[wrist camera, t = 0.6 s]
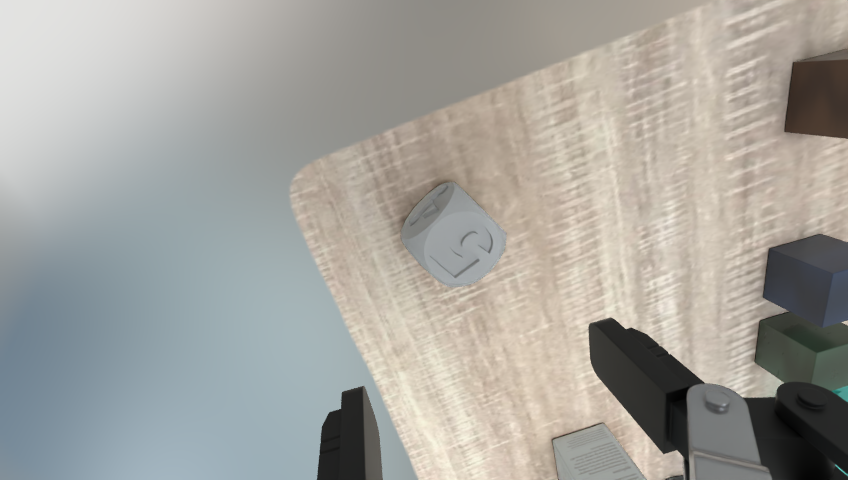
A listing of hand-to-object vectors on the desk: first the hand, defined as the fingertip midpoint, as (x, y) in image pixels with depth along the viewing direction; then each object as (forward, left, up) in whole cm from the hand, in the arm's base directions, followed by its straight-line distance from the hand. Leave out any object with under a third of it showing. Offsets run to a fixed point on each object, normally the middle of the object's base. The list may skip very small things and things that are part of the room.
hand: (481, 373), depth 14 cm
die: (0, +2, -16) cm, 16 cm away
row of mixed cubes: (+9, +32, -16) cm, 37 cm away
